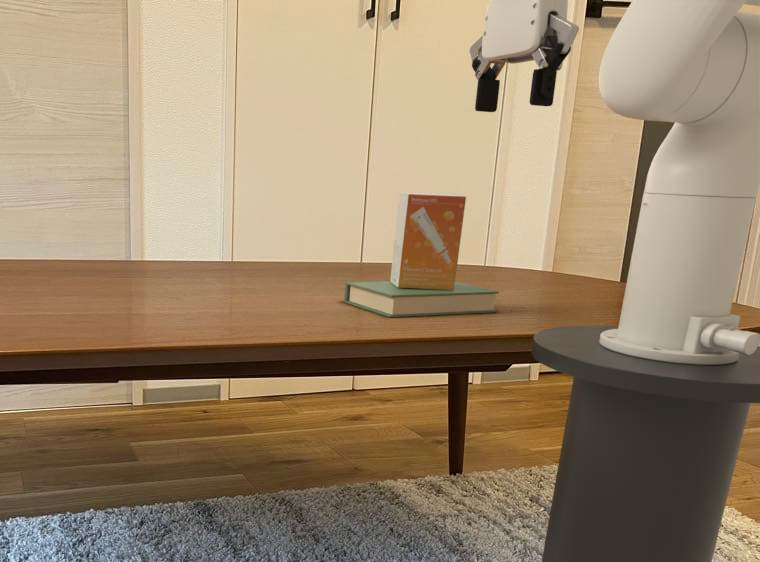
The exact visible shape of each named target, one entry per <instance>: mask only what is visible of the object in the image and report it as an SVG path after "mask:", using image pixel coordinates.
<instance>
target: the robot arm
mask: <svg viewBox="0 0 760 562" xmlns="http://www.w3.org/2000/svg"><path fill="white" fill-rule="evenodd" d="M568 4H569V0H488V2H487V7H486V12H485V18H484V25H483V31H482V32H483V33H482V36H480V37H479V38H478V39H477V40H476V41H475V42H474V43H473V44H472V45H471V46H470V48H469V55H470V59H471V68H472V70H473V71H474V73H475V74H474V78H475V80H477V86H476V88H477V89H476V96H475V105H474V110H475V112H482V113H496V111H497V110H498V101H499V94H500V86H501V82H500V81H501V80H500V79H497V78H498V76H499V75H500V73H501V71H502V70H503V68H504V66H506V63H507V64H512V65H513V64H520V63H526V62H532V61H534V62H535V64H536V67H538V68H535V69H533V73H532V77H531V87H530V95H529V104H530V105H531V106H537V107H551V106H553V104H554V97H555V89H556V82H557V75H558V72H559V71H560V70H562V68H563V64H564V63H563V62H564V61H565V59H566V58H567V57H568V55H569V54H570V53H571V50H572V45H573V43H574V42H575V40H576V37H577V35H578V33H579V30H580V27H579V25H577V24H576V23H573V22H571V21H569V20H568V6H569V5H568ZM744 5H747V6H753V7H754V6H755V7H760V0H632V1H631V2H630V4H629V6H628V7H627V9H626V11H625V13H623V15H622V18H621V19H620V20H619V22H618V24H617V26H616V28H615V29H614V31H613V33H612V34H611V36H610V39H609V40H608V43H607V45H606V47H605V50H604V53H603V55H602V58H601V62H600V66H599V71H598V90H599V94H600V98H601V99H602V101H603V103H604V104H605V106H606V107H607V108H608V109H609V110H611V111H612V112H613V113H615V114H617V115H619V116H621V117H624V118H627V119H632V120H639V121H649V122H664V123H673V126H672V127H671V129H670V130H669V132H668V133H667V135H666V136H665V138H664V140H663V141H662V142H661V144H660V146H659V147H658V149H657V151H656V153H655V155H654V156H653V158H652V161H651V163H650V166H649V169H648V172H647V175H646V181H645V183H644V184H645V185H644V190H643V194H642V199H641V205H640V210H639V214H638V219H637V220H638V221H637V225H636V231H635V237H634V241H633V248H632V251H631V258H630V264H629V269H628V274H627V279H626V283H625V290H624V294H623V295H624V296H623V299H622V305H621V311H620V316H619V320H618V321H619V322H618V325H617V326H618V329H611V330H606V331H604V332H602V333H601V334H600V341H599V343H600V344H601V345H602V346H603V347H605V348H607V349H609V350H612V351H614V352H618V353H621V354H625V355H629V356H633V357H638V358H643V359H648V360H654V361H661V362H669V363H678V364H690V365H725V364H731V363H734V362H736V361H737V360H738V358H739V354H740V353H742V354H746V355H751V354H752V353H754V352H755V350H756V349H757V347H758V346H760V333H759V332H753V331H748V330H741V329H740V327H739V324H740V320H741V315H737V314H732V313H731V311H732V306H733V302H734V297H735V294H736V289H737V284H738V280H739V275H740V271H741V266H742V262H743V258H744V254H745V249H746V245H747V241H748V236H749V231H750V228H751V223H752V220H753V214H754V210H755V206H756V201H757V198H758V195H759V190H760V14H756V13H751V12H750V13H749V12H743V11H740V10H741V8H742V7H743V6H744ZM492 64H493V66H492V67H491V65H492Z"/></svg>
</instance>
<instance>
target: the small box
mask: <svg viewBox="0 0 760 562" xmlns="http://www.w3.org/2000/svg"><path fill="white" fill-rule="evenodd" d="M466 201H467V196H466V195H460V194H455V193H432V192H407V191H406V192H404V191H402V192H399V193H398V203H397V214H396V223H395V232H394V242H393V249H392V259H391V270H390V280H389V281H391V283H393V284H394V285H395V286H397V287H398V288H417V289H433V290H449V291H453V290H454V285H455V282H456V276H457V270H458V263H459V262H458V261H459V255H460V248H461V239H462V231H463V223H464V216H465V209H466Z"/></svg>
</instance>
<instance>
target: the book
mask: <svg viewBox="0 0 760 562" xmlns="http://www.w3.org/2000/svg"><path fill="white" fill-rule="evenodd" d="M497 294H500V291H499V290H495V289H491V288H487V287H482V286H478V285H477V286H476V285H471V284H468V283H464V282H460V281H455V285H454V290H453V291H449V290H433V289H417V288H398V287H397V286H395V285H394V284H393V283H391V281H390V280H375V281H372V280H371V281H368V280H367V281H345V289H344V301H343V303H346V304H348V305H350V306H355V307H357V308H360V309H363V310H367V311H370V312H371V313H376V314H378V315H382V316H384V317H387V318H404V317H405V318H406V317H425V316H426V317H429V316H447V315H448V316H449V315H467V314H469V315H470V314H489V313H490V314H491V313H492V314H493V313H497V310H496V309H495V304H496V296H497Z"/></svg>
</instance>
